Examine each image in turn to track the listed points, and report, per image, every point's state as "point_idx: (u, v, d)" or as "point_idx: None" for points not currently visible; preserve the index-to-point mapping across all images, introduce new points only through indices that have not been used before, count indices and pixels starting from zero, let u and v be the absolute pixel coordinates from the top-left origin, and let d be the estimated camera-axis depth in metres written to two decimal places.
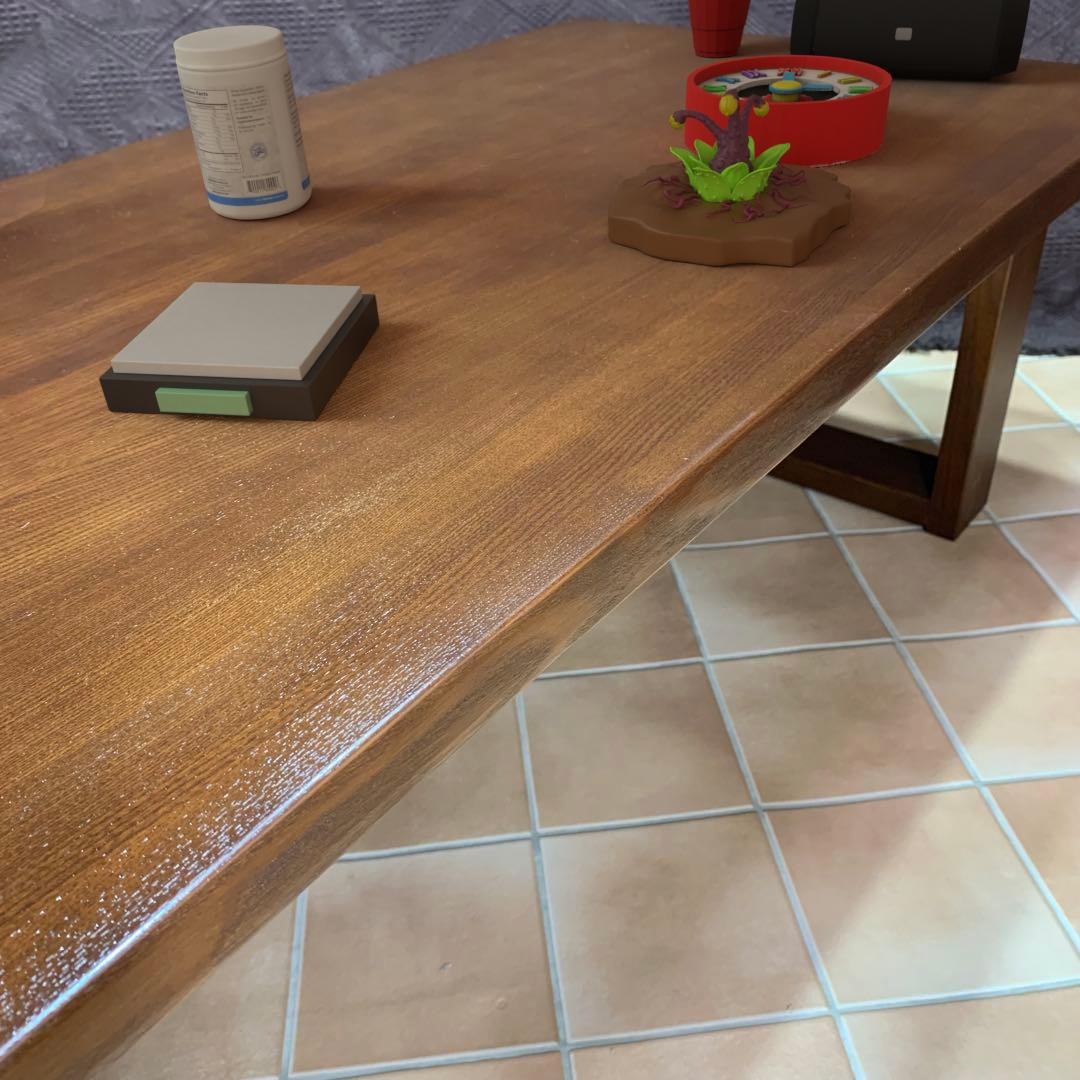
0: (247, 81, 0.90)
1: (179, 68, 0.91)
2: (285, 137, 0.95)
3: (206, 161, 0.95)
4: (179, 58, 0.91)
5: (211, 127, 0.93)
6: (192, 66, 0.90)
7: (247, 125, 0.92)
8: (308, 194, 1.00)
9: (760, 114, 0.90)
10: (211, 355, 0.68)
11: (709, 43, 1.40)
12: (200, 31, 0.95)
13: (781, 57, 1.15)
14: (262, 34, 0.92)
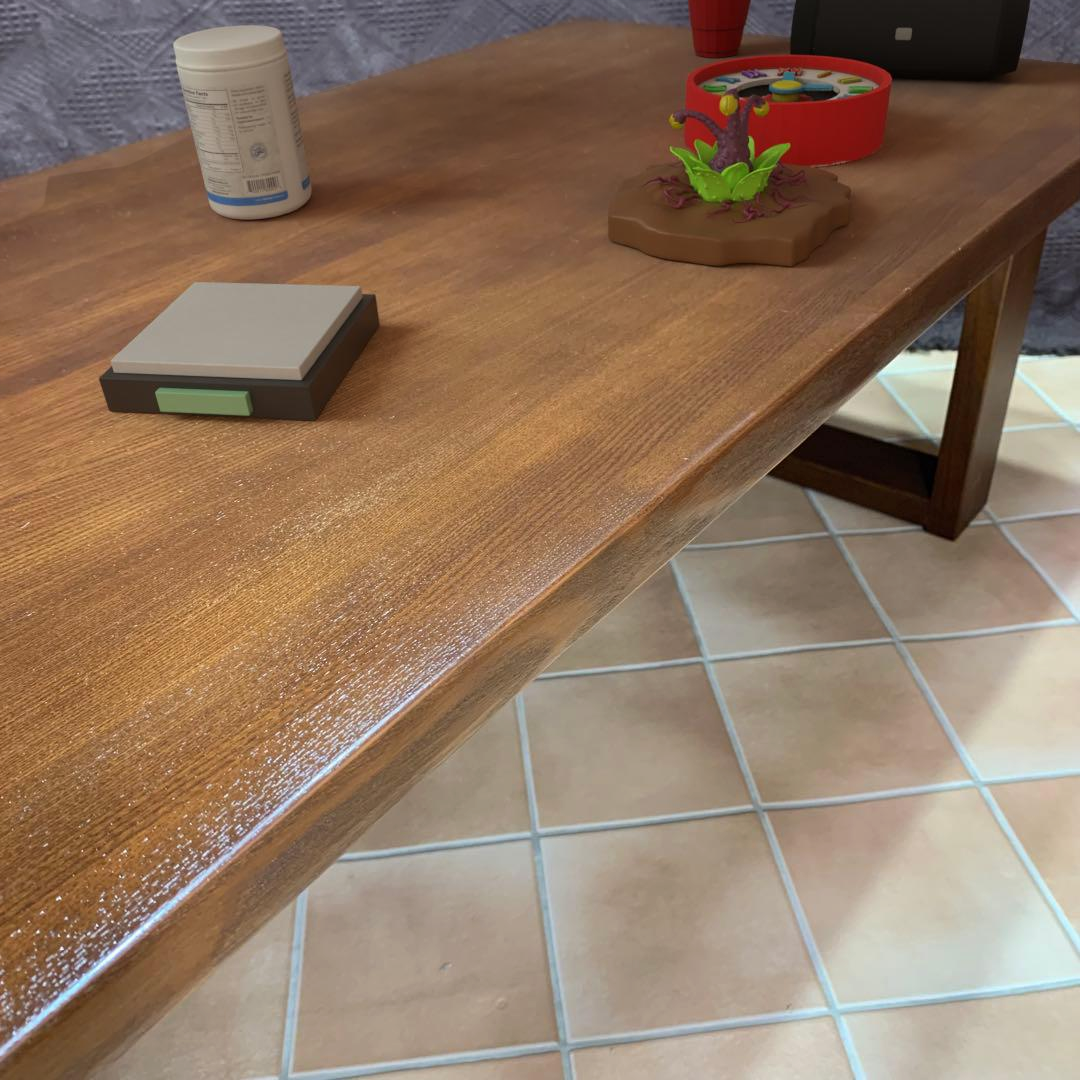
0: (246, 81, 0.90)
1: (179, 68, 0.91)
2: (285, 137, 0.95)
3: (205, 161, 0.95)
4: (179, 58, 0.91)
5: (211, 127, 0.93)
6: (192, 66, 0.90)
7: (247, 125, 0.92)
8: (308, 194, 1.00)
9: (760, 114, 0.90)
10: (211, 355, 0.68)
11: (709, 43, 1.40)
12: (200, 31, 0.95)
13: (781, 57, 1.15)
14: (262, 34, 0.92)
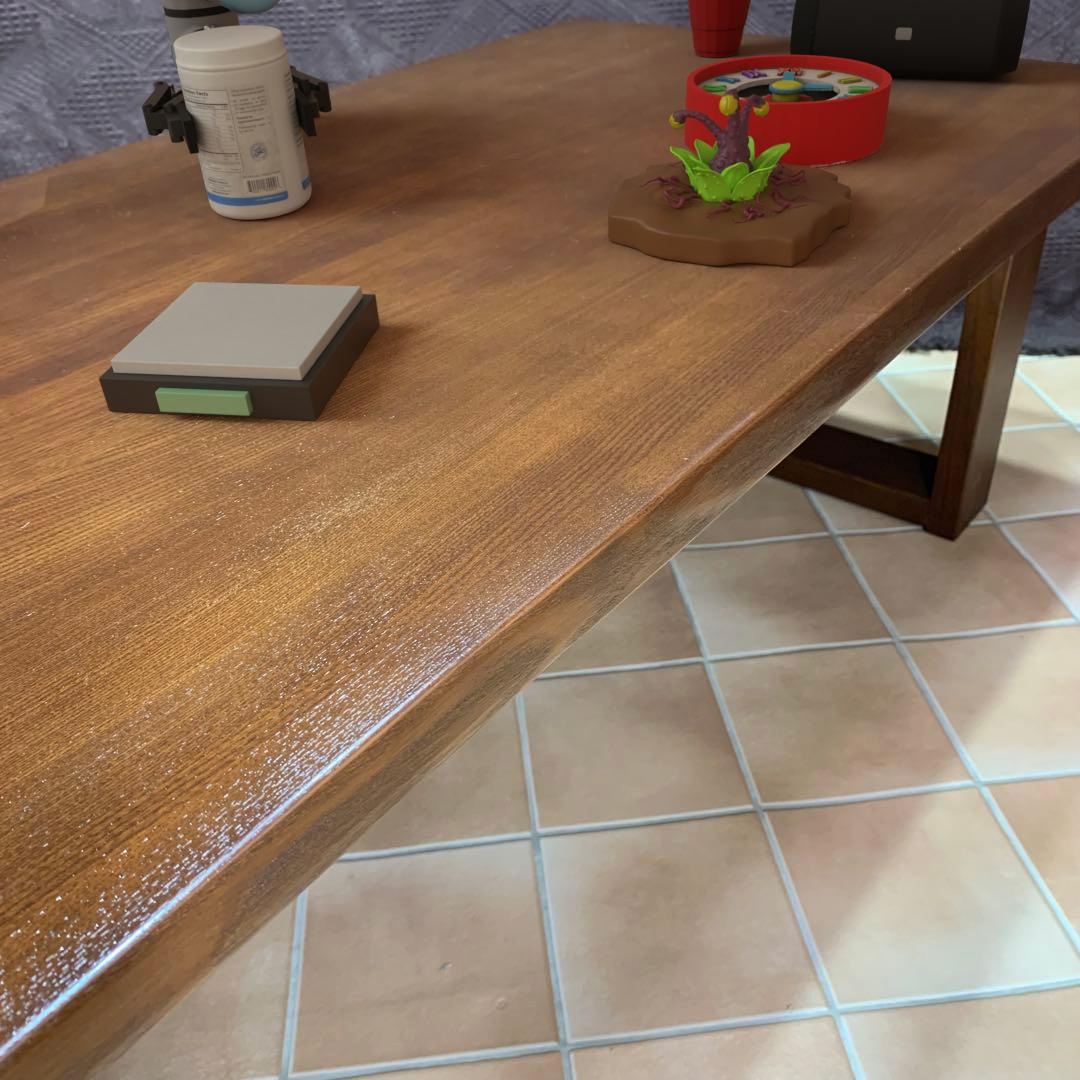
0: (247, 81, 0.90)
1: (179, 68, 0.91)
2: (285, 137, 0.95)
3: (206, 161, 0.95)
4: (179, 58, 0.91)
5: (212, 127, 0.93)
6: (192, 66, 0.90)
7: (247, 125, 0.92)
8: (308, 194, 1.00)
9: (760, 114, 0.90)
10: (211, 355, 0.68)
11: (709, 43, 1.40)
12: (200, 31, 0.95)
13: (781, 57, 1.15)
14: (262, 34, 0.92)
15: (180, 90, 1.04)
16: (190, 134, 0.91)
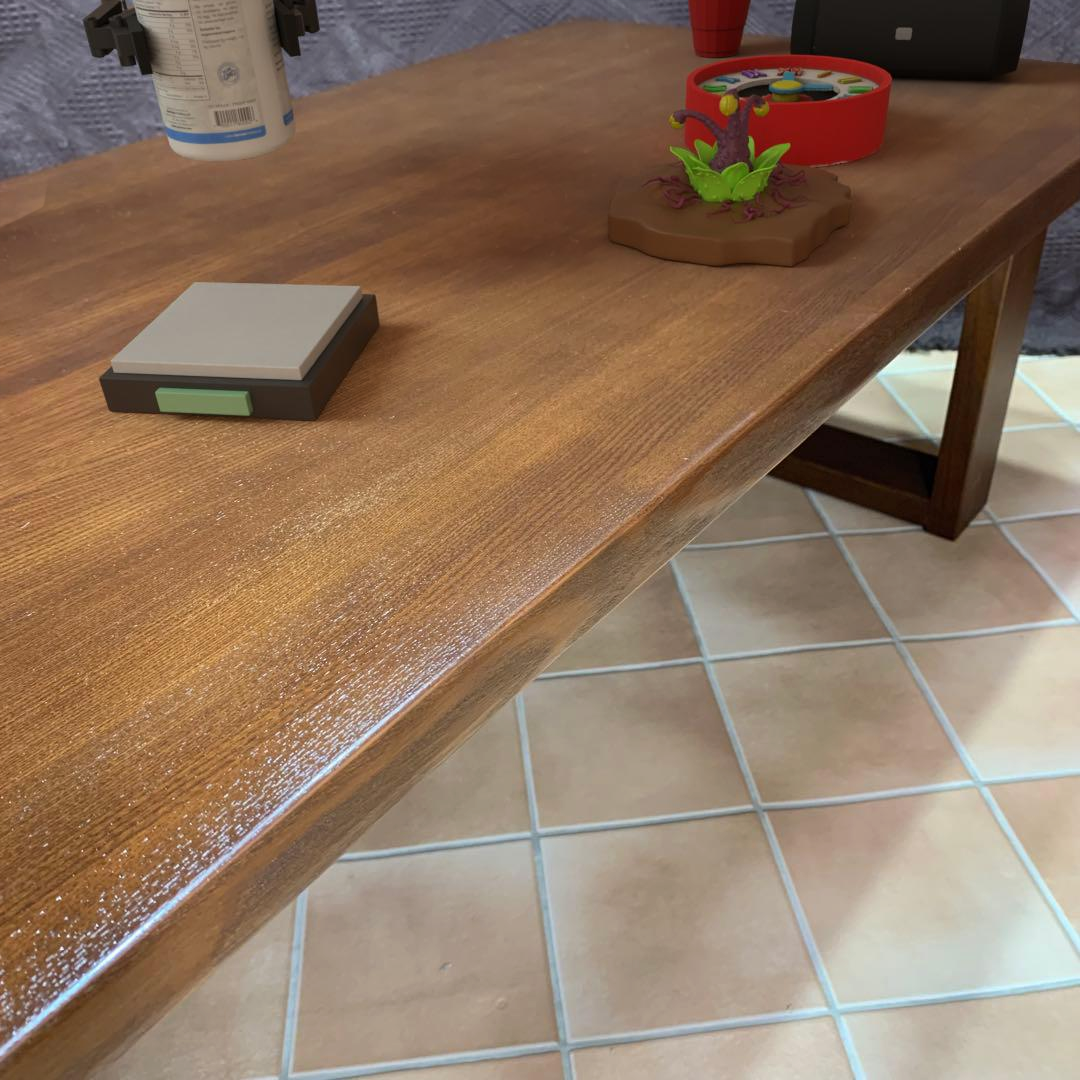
0: None
1: None
2: (262, 56, 0.76)
3: (162, 87, 0.76)
4: None
5: (169, 42, 0.74)
6: None
7: (213, 39, 0.73)
8: (291, 132, 0.81)
9: (760, 114, 0.90)
10: (211, 355, 0.68)
11: (709, 43, 1.40)
12: None
13: (781, 57, 1.15)
14: None
15: (134, 8, 0.85)
16: (141, 49, 0.73)
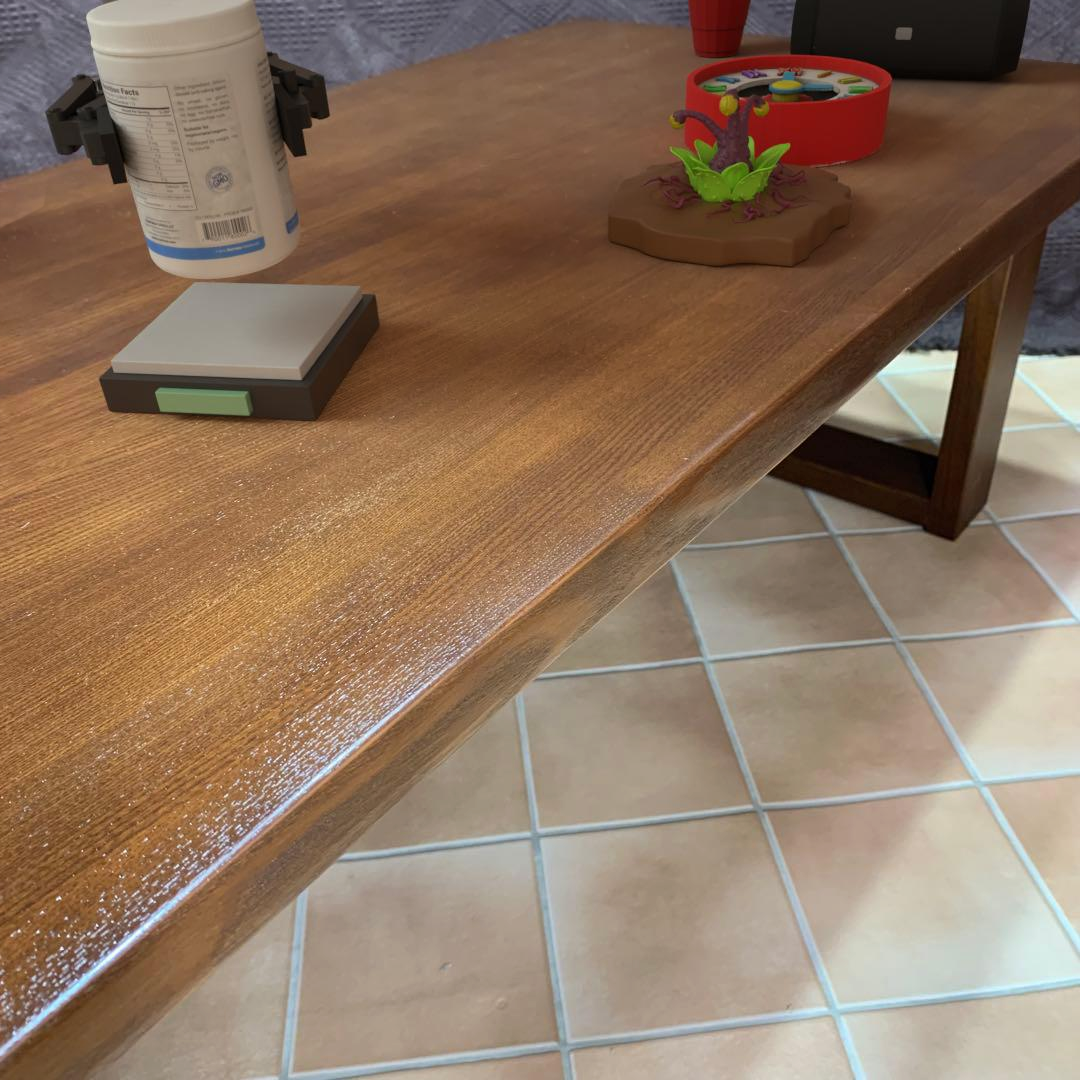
0: (198, 72, 0.58)
1: (95, 53, 0.60)
2: (260, 157, 0.63)
3: (140, 193, 0.63)
4: (94, 37, 0.59)
5: (146, 143, 0.61)
6: (113, 49, 0.58)
7: (200, 140, 0.60)
8: (295, 240, 0.68)
9: (760, 114, 0.90)
10: (211, 355, 0.68)
11: (709, 43, 1.40)
12: None
13: (781, 57, 1.15)
14: (223, 1, 0.60)
15: None
16: (112, 154, 0.60)
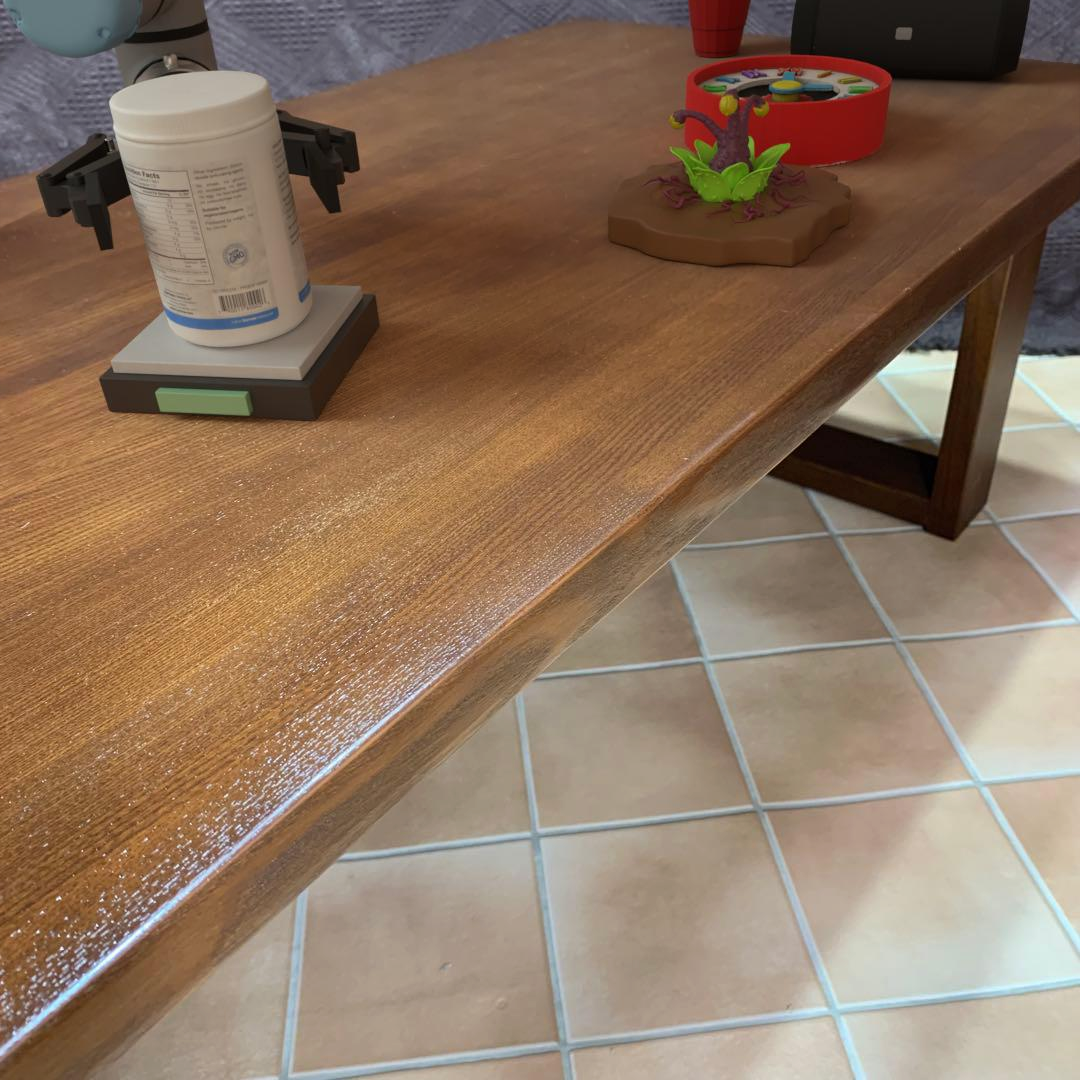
0: (217, 157, 0.61)
1: (118, 137, 0.62)
2: (274, 233, 0.66)
3: (159, 267, 0.66)
4: (117, 123, 0.61)
5: (166, 222, 0.63)
6: (135, 135, 0.61)
7: (218, 219, 0.63)
8: (308, 307, 0.70)
9: (760, 114, 0.90)
10: (211, 355, 0.68)
11: (709, 43, 1.40)
12: (151, 80, 0.65)
13: (781, 57, 1.15)
14: (240, 86, 0.63)
15: None
16: (99, 222, 0.62)
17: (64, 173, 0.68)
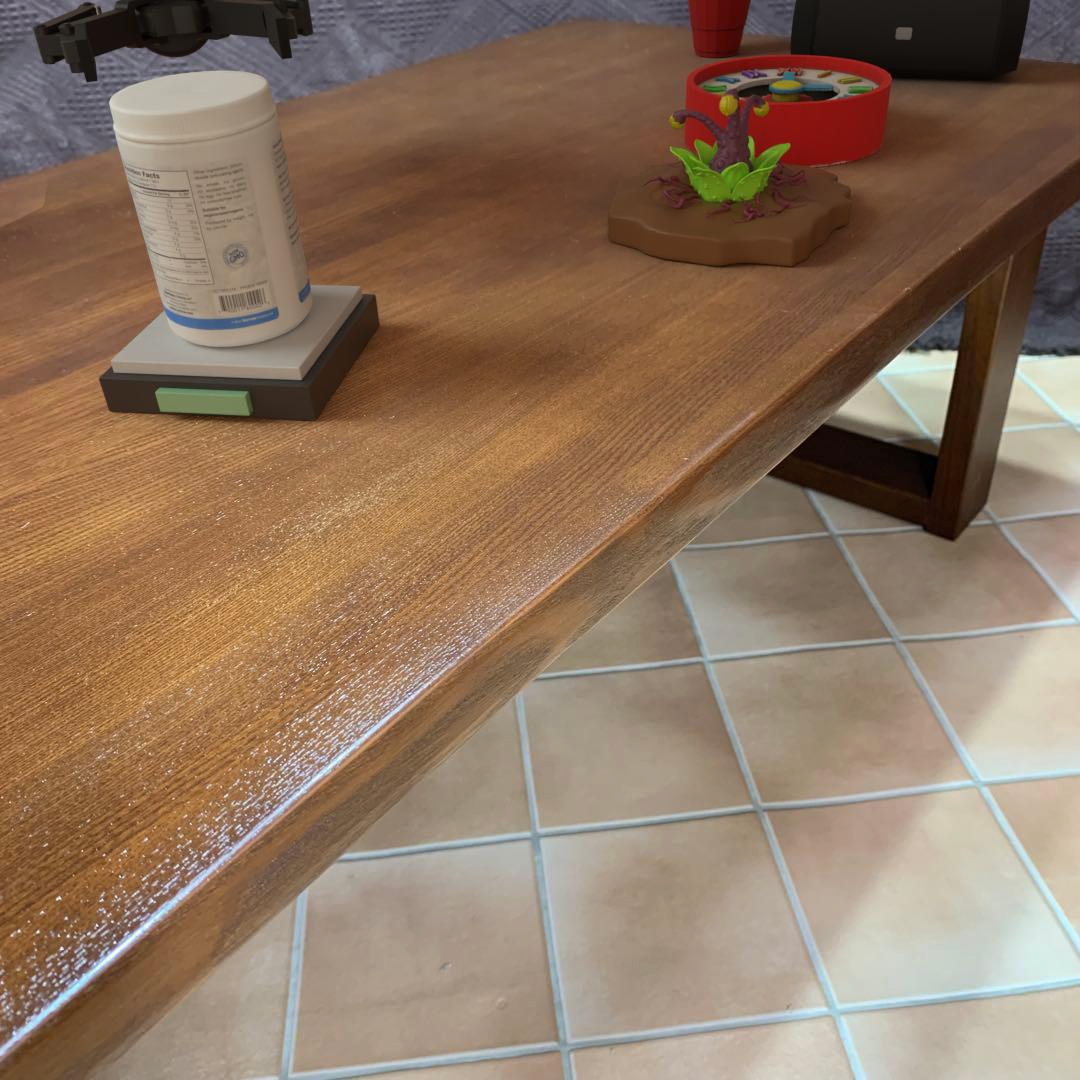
0: (217, 157, 0.61)
1: (118, 137, 0.62)
2: (274, 233, 0.66)
3: (159, 267, 0.66)
4: (117, 123, 0.61)
5: (166, 222, 0.63)
6: (135, 135, 0.61)
7: (218, 219, 0.63)
8: (308, 307, 0.70)
9: (760, 114, 0.90)
10: (211, 355, 0.68)
11: (709, 43, 1.40)
12: (151, 80, 0.65)
13: (781, 57, 1.15)
14: (240, 86, 0.63)
15: None
16: (85, 57, 0.74)
17: (57, 26, 0.80)
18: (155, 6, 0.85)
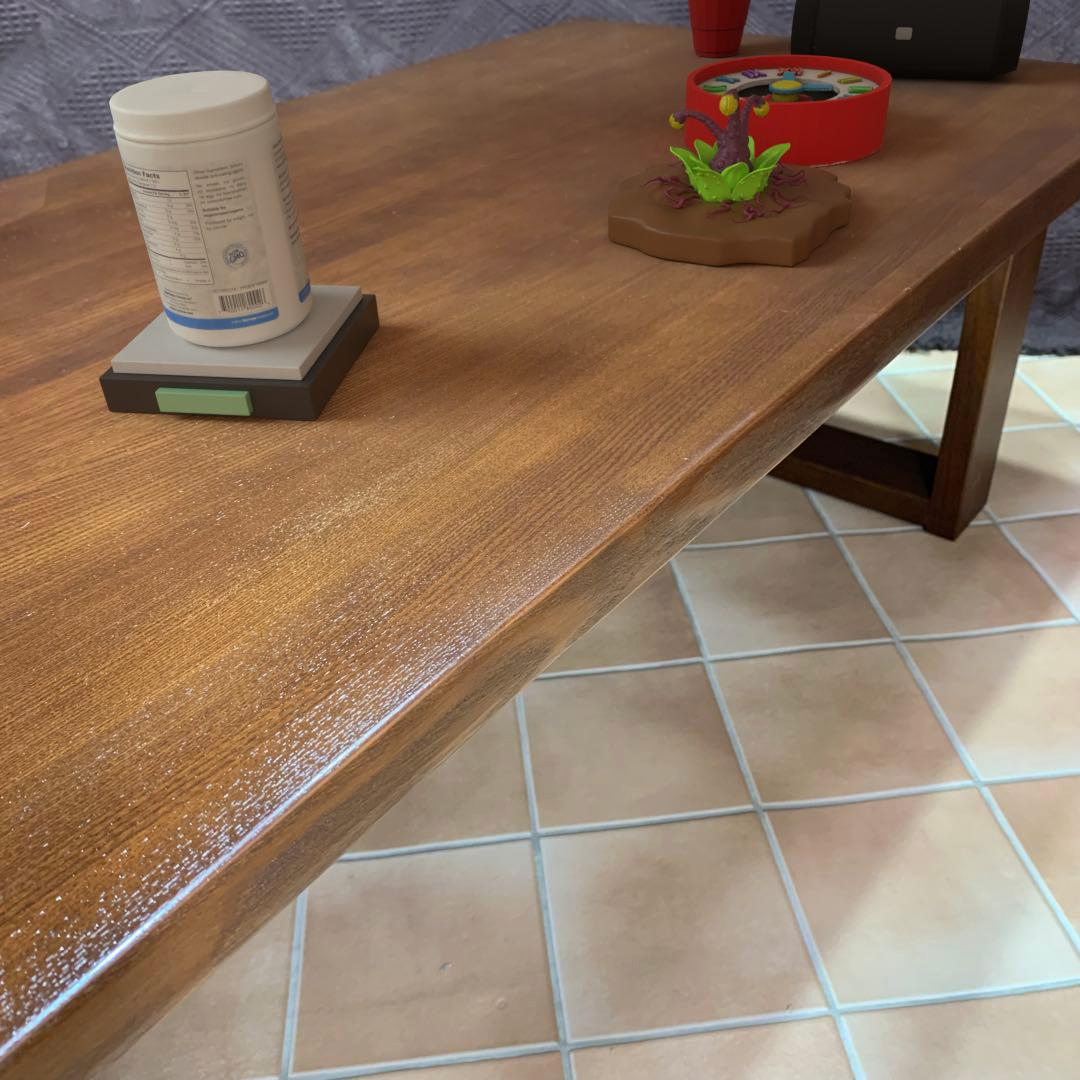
0: (217, 157, 0.61)
1: (118, 137, 0.62)
2: (274, 233, 0.66)
3: (159, 267, 0.66)
4: (117, 123, 0.61)
5: (166, 222, 0.63)
6: (135, 135, 0.61)
7: (218, 219, 0.63)
8: (308, 307, 0.70)
9: (760, 114, 0.90)
10: (211, 355, 0.68)
11: (709, 43, 1.40)
12: (151, 80, 0.65)
13: (781, 57, 1.15)
14: (240, 86, 0.63)
15: None
16: None
17: None
18: None
